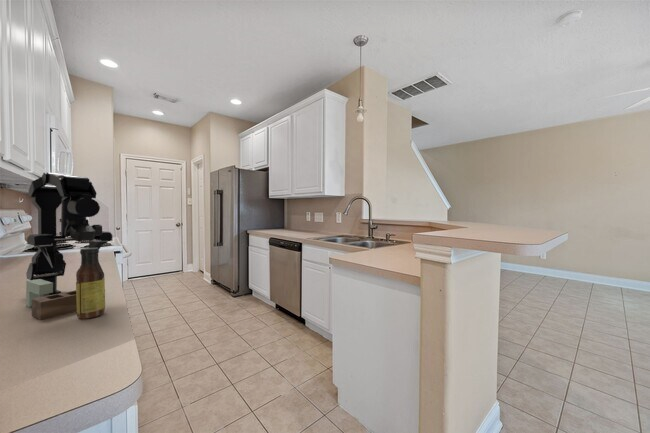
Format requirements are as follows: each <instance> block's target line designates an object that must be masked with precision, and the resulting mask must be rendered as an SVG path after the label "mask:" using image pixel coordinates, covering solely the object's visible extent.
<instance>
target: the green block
mask: <svg viewBox="0 0 650 433" xmlns="http://www.w3.org/2000/svg"><path fill="white" fill-rule="evenodd" d="M25 282H26V283H25V285H26V287H25V289H26V290H25V291H26V292H25V294H26V295H25V297H26V298H25V305H26V306H25V307H28V308H32V299H34V298H39V297H44V296H49V293H53V283H52V282H48V281H45V280H42V279H36V280H29V279H28V280H26V281H25Z"/></svg>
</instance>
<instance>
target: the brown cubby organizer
mask: <svg viewBox="0 0 650 433" xmlns="http://www.w3.org/2000/svg"><path fill="white" fill-rule="evenodd" d="M73 312H74V313H75V312H77V301H76V289H75V290H70V291H65V292H61V293H57V294H52V295H49V296H44V297H39V298H34V299H32V307H31V316H32V318H33V317H34V318H35V319H37V320H39V321H42V320H46V319H51V318H55V317H57V316H62V315H67V314H70V313H73Z"/></svg>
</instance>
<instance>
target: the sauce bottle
mask: <svg viewBox="0 0 650 433" xmlns="http://www.w3.org/2000/svg"><path fill="white" fill-rule="evenodd" d="M79 252H80V255H81V257H80V258H81V259H80V260H81V261H80V266H79V268H78V269H77V271H76V272H75V273H76V274H75V276H76V282H75V290H76V301H77V311H76V314H77V316H76V317H77V318H78V319H82V320H86V319H87V320H88V319H93V318H96V317H99V316H102V315H104V314H105V311H106V289H105V287H106V286H105V284H106V283H105V272H104V271H103V268H102V265H101V264H100V261H99V253H100V249H99V248H89V247H83V248H81V249H79Z"/></svg>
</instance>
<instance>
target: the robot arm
mask: <svg viewBox="0 0 650 433" xmlns="http://www.w3.org/2000/svg"><path fill="white" fill-rule="evenodd" d="M41 175H42V176H39V178H37V179H35V180H32V182H31V184H30V186H29V189H28V197H29V198H30V202H31V204H32V205H33V206H34V207H35V208H36V209H37V230H38V231H37V234H36V233H35V234H30V235H29V236H27V238H26V244H27V245H30V246H33V247H34V248H37V251H36V252H35V253H34V255H33V256H32V257H31V262H30V263H29V265H28V268H27V269H26V280H28V281H29V280H36V279H42V280H45V281H48V282H52V283H53V293H49V295H54V294H59V293H62V291H61V290H58V288H57V287H58V277H64V276H65V272H66V271H65V270H66V267H67V263H66V261H65V259H64V254H63V253H61V252H60V251H59V250H58V248H57V242H73V241H74V242H82V241H88V248H99V250H100V249H101V247H102V246H103V245H104V244H108V242H109V241H113V236H114V235H113V234H112V232H111V231H103V225H102V224H101V223H100V224H92V225H90V224H89V219H87V218H92V217H95V216H96V215H98V214H99V212H100V210H101V206H100V204H99V203H98V201H96V200H95V199H96V198H97V194H98V193H97V191H96V189H95V187H94V185H93V183H92V181H90V178H88V177H87V176H86V177H85V176H77V175H74V176H73V175H67V174H66V175H65V174H63V173H56V172H49V171H48V172H43V174H41ZM60 206H61V208H60V209H61V213H60V216H61V217H60V218H59V223H60V231H59V234H58V235H57V209H58V208H59V207H60Z"/></svg>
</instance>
